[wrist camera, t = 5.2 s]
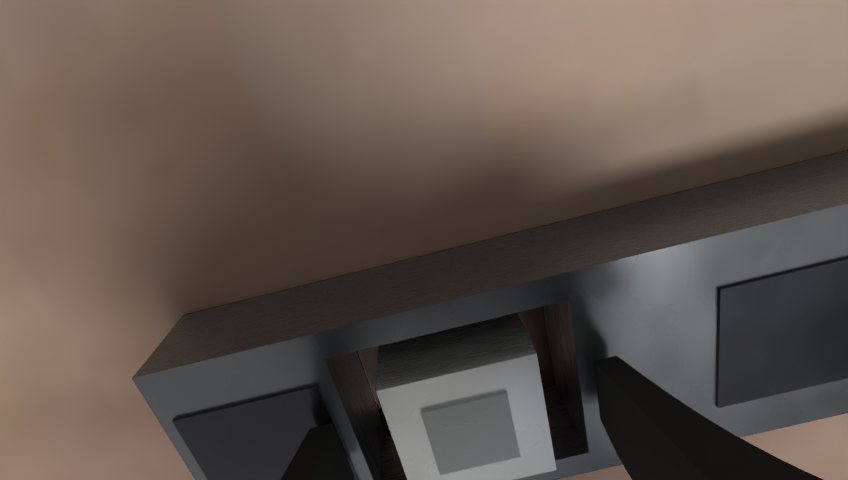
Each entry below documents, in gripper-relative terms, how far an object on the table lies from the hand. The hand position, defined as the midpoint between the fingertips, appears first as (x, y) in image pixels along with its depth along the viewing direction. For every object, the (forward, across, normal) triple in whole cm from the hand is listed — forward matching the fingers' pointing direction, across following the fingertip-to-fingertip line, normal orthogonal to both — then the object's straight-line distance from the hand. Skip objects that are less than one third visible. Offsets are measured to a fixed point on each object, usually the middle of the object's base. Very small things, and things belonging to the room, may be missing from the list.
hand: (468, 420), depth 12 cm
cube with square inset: (+3, 0, 0) cm, 3 cm away
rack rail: (+3, -3, 0) cm, 5 cm away
